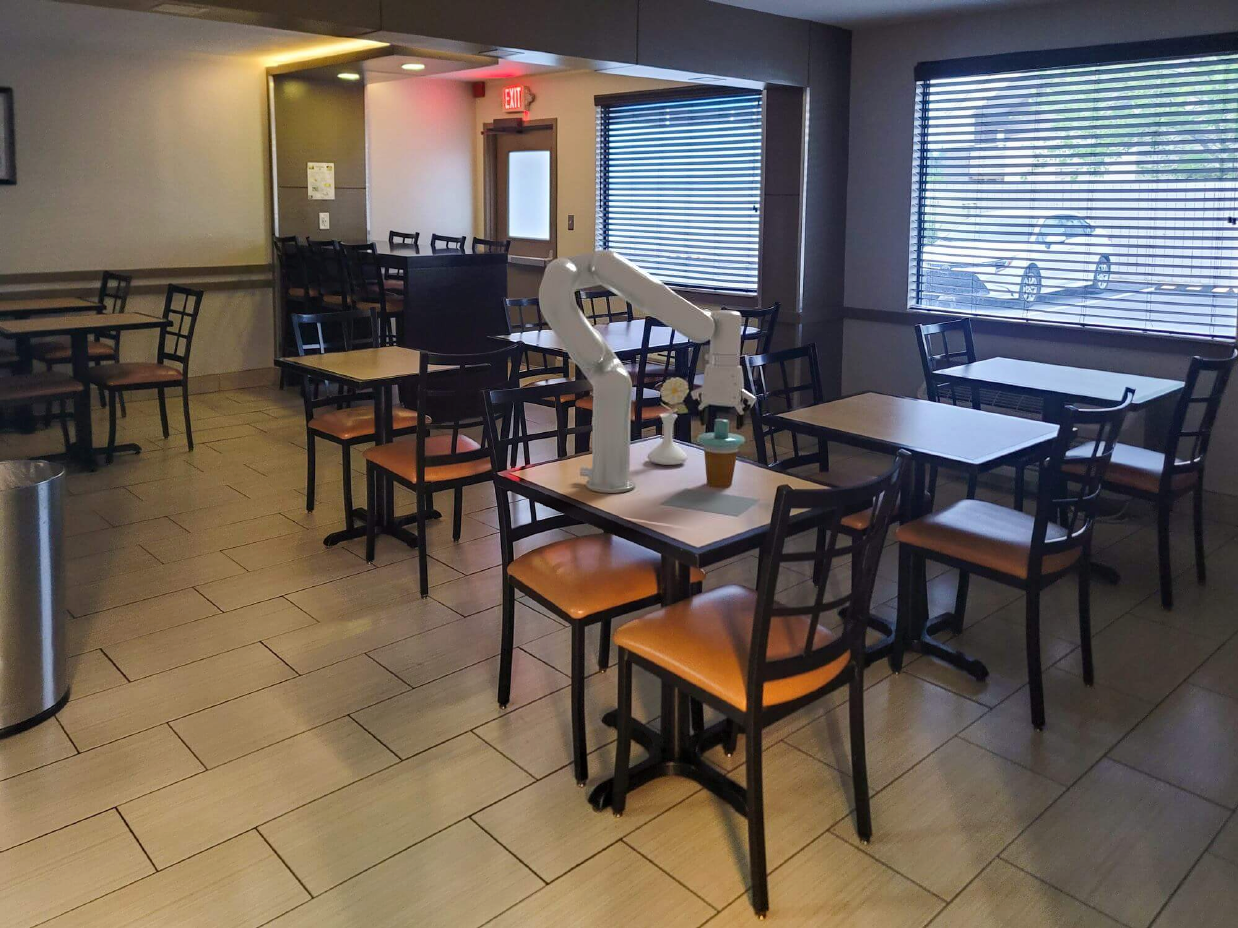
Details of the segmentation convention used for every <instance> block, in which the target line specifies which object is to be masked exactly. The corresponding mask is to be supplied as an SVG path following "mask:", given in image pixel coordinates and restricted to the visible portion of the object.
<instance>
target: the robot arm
mask: <svg viewBox="0 0 1238 928" xmlns="http://www.w3.org/2000/svg"><path fill="white" fill-rule="evenodd" d="M600 285H601V286H603V287H604V288H605V289H607V290H609V291H610V292H612V293H614V294H615V295H617V296H618V297H620V298H621V299H623V300H625V301H626V302H628V303H629V304H630V305H632V306H634V307H635V308H637V310H640V311H641V312H643V313H644V314H647V315H649V316H650V317H653V318H655V319H657V320H658V321H660V322H662V323H663V324H664V325H666V326H668V327H669V328H670V329H672V330H674V331H676V332H677V333H678V334H681V335H682V336H684V337H685V338H687V339H688V340H690V341H691V342H693V343H697V344H701V343H705V342H706V343H707V341H710V343H709V344H710V345H709V353H706V354H704V360H707V361H708V364H706V365H705V369H704V373H703V379H702V386H701V387H699V388H696V389H694V390H692V391H691V392H690V395H691V397H692V399H693V403H694V404H695V405H696V407H697V408H698V410H699V421H700V425H701V426H702V427H703V426H705V425H707V424H708V423H709V408H708V406H709V405H711V406H719V407H729V408H733V407H734V408H735V410H736V411H737V412H738V413H737V414H736V423H735V424H736V426H735V429H736V430H737V431H740V430H741V429H743V428H744V427H745V426H746V425H745V421H746V413H748V411H750V410H751V409H752V407H753V406H754V404H755V403H756V401H757V397H756V396H754V395H753V394H752V393H750V392H748V391H747V390H745V384H744V383H745V380H744V372H743V367H742V366H741V365H740V361H741V359H740V357H741V340H742V339H741V337H742V322H743V321H742V314H741V313H740V312H739V311H737V310H728V309H727V310H726V309H723V310H721V309H720V310H708V309H707V310H706V309H700V308H698V307H697V306H696V305H694V304H692V303H691V302H690V301H688V300H686V299H685V298H683V297H682V296H681V295H678V293H676V292H675V291H673V290H672V289H671V288H669V286H667V285H666V284H664V283H663V282H662V281H660V280H659V279H658V278H656V277H655V276H653V275H652V274H650V273H648V272H647V271H646V270H643V269H642V268H640V267H639V266H637V265H636V264H635V263H633V262H632V261H630V260H628V259H627V258H626V257H624V256H622V255H620V254H619V253H617V252H616V251H614V250H611V249H599V250H595V251H591V252H586V253H582V254H581V253H580V254H576V255H570V256H564V257H560V258H555V259H554V260H552V261H551V262H549V263H548V264H547V266H546V267H545V270H544V274H543V277H542V280H541V283H540V286H539V290H538V302H539V307H540V311H541V314H542V315H543V317H544V319H545V322H546V323H547V324H548V325H549V327H550V328H551V330H552V332H553V333H554V335H555V336H556V337H557V340H559V342H560V343H561V344H562V346H563V347H564V349H565V351H567V353H568V356H569V358H570V359H571V360H572V361H573V362H574V363H575V365H577V366H578V368H579V369H580V370H581V372H582V373H583V375H584V376H585V377H586V378H587V380H588V382H589V383H590V384H591V385H592V391H593V398H592V400H593V401H592V464H591V465H592V467H591V468H590V467H588V466H587V467H586V466H581V467H580V469H579V476H581V477H587V478H588V480H587V481H586V482H585V487H586V488H587V489H588V490H589V491H594V492H597V493H603V494H606V493H607V494H609V493H610V494H614V493H615V494H619V493H626V492H630V491H632V490H634V489H635V488H636V482H635V481H634V480H633V479H632V478H631V479H630V471H631V470H630V467H631V466H630V465H631V463H630V462H631V459H630V458H631V457H630V456H631V413H632V412H631V409H632V400H633V399H632V398H633V397H632V396H633V382H632V379H631V376H630V374H629V372H628V370H627V369H626V367H625V365H624V364H623V363H622V362H621V360H620V359H619V358H618V356H617V355H616V354H615V351H613V350H612V348H611V347H610V345H609V344H608V343H607V341H606V340H605V338H604V337H603V336H602V334H601V333H600V332H599V331H598V330H597V329H596V328H594V327H593V326H592V324H591V323H590V322H589V320H588V319H587V318H586V316H585V315H584V313H583V311H582V310H581V308H580V307H579V306H578V304H577V303H576V300H575V294H574V293H575V291H576V290H581V289H586V288H591V287H596V286H600ZM699 394H701V395H700V396H701V398H700V396H699ZM745 399H746V400H747V404H744V400H745Z"/></svg>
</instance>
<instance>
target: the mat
mask: <svg viewBox="0 0 1238 928" xmlns="http://www.w3.org/2000/svg"><path fill="white" fill-rule="evenodd" d="M760 501H761V499H759V498H753V497H748V496H747V497H746V496H741V495H740V496H739V495H732V494H726V493H720V492H712V491H707V490H699V489H693V488H692V489H691V488H688V487H687V488H683V489H682V490H681V491H679V492H677V493H676V494H674V495H672V496H670V497H669V498H667V499H665V500H664V501H661V503H659V505H662V506H669V507H674V508H682V509H687V510H694V511H700V512H706V513H713V514H718V515H725V516H732V517H737V518H738V517H740V516H741V515H742V514H744V513H745V512H746V511H747V510H749V509H750V508H751V507H753V506H754V505H755V504H757V503H758V502H760Z"/></svg>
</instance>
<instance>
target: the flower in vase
mask: <svg viewBox="0 0 1238 928" xmlns="http://www.w3.org/2000/svg"><path fill="white" fill-rule="evenodd" d="M659 391H660V396H661V399H662V401H664V402H665V403H668V404H669V405H675V406H674V408H673V410H671V408H670V407H668V406H667V405H665V404H663V403H662V402H660V405H662V406H663V407H665V408H666V409H668V410H669V411H671V412H670V413H661V414H659V417H660V418H661V421H662V423H663V424H662V425H663V439H662V441H661V443H659V444H658V445H656V446H655V447H654V448H652V449H651V450H650V452H648V454H647V456H646V457H647V460H649V462H652V463H654V464H657V465H661V466H662V465H664V466H672V465H673V466H674V465H681V464H682V463H685V462H686V461H687V459H688V455H687V453H686V452H685V451H684V450H683V449H682V448H680V447H679V446H678V445H677V444H676V443H675V442H674V439H673V429H674V427H673V426H674V423H675V421H676V419H677V418H678V415H677V414H676V413H674V412H675V410H676V411H677V413H679V414H685V413H686V414H687V413H689V411H688V408H687V407H686V405H685V404H678V403H681V402H684V400H685V398H686V397H687V396H688V393H689V392H690V390H689V383H688V382H687V381H686V380H684V379H683V378H680V377H678V376H677V377H671V378H670V379H666V380H665V382H664V383H663V384H662V387H661V388H660V390H659Z"/></svg>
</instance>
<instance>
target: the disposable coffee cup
mask: <svg viewBox="0 0 1238 928" xmlns="http://www.w3.org/2000/svg"><path fill="white" fill-rule="evenodd" d="M702 449H703V452H704V462H705V463H704V464H705V473H706V474H705V475H706V484H707V486H708V487H711V488H718V489H721V488H722V489H725V488H730V487H732V485H733V478H734V475H735V467H736V462H737V455H738V451H739V449H740V445H739V446H731V447H718V446H709V445H704V444H702Z"/></svg>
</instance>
